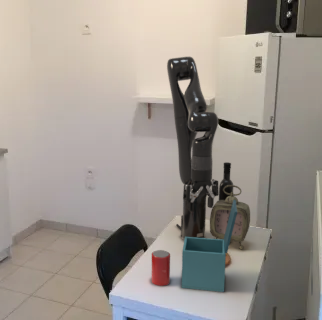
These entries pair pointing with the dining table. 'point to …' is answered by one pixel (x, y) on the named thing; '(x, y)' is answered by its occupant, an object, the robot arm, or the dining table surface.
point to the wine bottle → (225, 182)
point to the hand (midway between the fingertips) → (200, 209)
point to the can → (160, 267)
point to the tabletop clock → (221, 218)
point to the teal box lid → (230, 226)
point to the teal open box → (203, 264)
